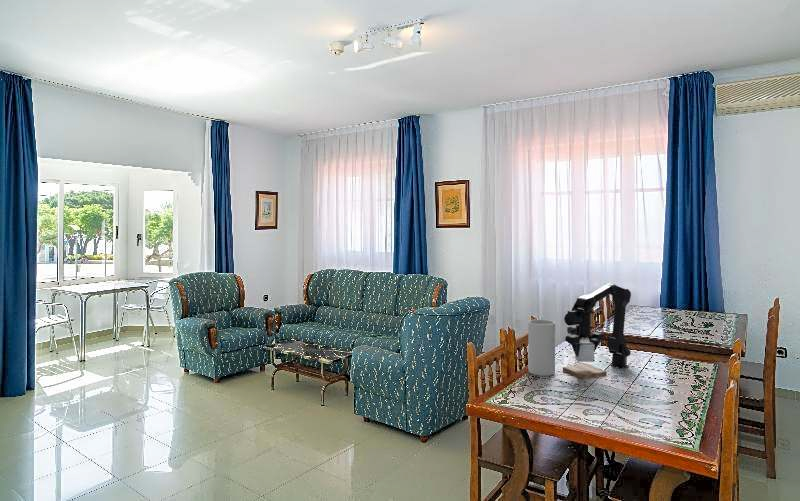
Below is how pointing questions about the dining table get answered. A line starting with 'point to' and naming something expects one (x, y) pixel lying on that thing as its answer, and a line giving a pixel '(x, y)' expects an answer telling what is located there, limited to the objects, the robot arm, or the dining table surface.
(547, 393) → the dining table surface
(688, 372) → the dining table surface
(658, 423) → the dining table surface
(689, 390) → the dining table surface
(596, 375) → the walnut block
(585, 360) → the medicine box
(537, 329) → the cylinder vase
